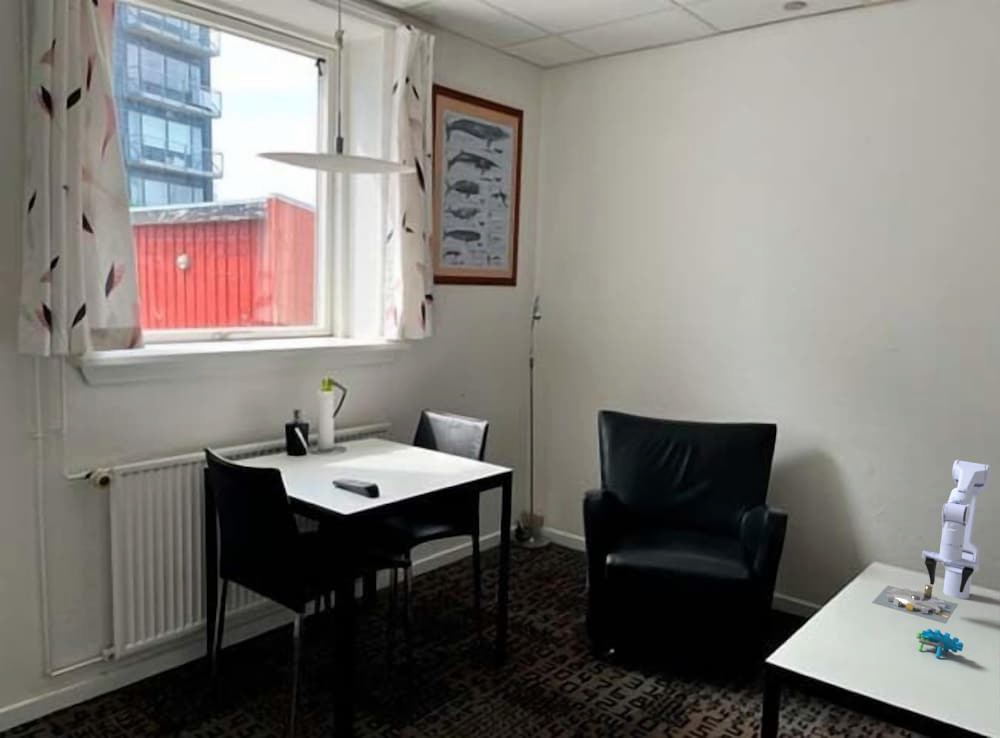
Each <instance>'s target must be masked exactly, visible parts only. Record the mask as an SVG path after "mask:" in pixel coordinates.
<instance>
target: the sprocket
mask: <svg viewBox="0 0 1000 738" xmlns="http://www.w3.org/2000/svg"><path fill="white" fill-rule="evenodd" d="M897 588H898V587H896V588H893V589H892V591H890V590H888V591H887V593H886V596H887V600H888V601H893V604H894V605H896V606H903V607H906V609H907V610H910V611H913V610H918V611H920V612H921V613H926V614H928V612H933V613H935V614H938V613H940V611H943V612H944V611H945V606H946V605H944V604H945V602H944V601H943V600H944V599H941V600H937V599H938V596H936V595H933V585H931V584H925V585H924V591H922V590H917V591H914V590H911V589H910V588H902V589H903V590H899V589H897Z"/></svg>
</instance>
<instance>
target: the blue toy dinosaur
mask: <svg viewBox="0 0 1000 738" xmlns="http://www.w3.org/2000/svg"><path fill="white" fill-rule="evenodd" d="M950 637H951V633H948V632H944V634H943V633H942V632H941V630H940V629H934V631H933V630H932V629H930V628H927V629H926V630H924V629H922V630H921V632H917V633H916V636H915V638H916V639H918V643H920V644H919V648H918V651H919V652H922V651H923V647H924V645H926V646H929V647H934V648H935V649H937V650H936V654H935V658H937V659H940V658H941V656H942V651H944V652H950V651H951V652H953V653H958V651H959V652H963V648H964V643H963V642H961V641H959V640H960V639H959V638H958V637H956V636H954V637H952V638H950Z"/></svg>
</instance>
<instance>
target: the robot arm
mask: <svg viewBox="0 0 1000 738" xmlns="http://www.w3.org/2000/svg"><path fill="white" fill-rule="evenodd" d="M991 470H992V467H991V466H990V464H984V463H977V462H971V461H964V460H960V459H956V460H954V462H953V464H952V471H951V472H952V473H951V474H952V475H951V476H952V479H953V480H952V481H953V482H954V485H956V486H957V487H955V488H953V489H952V490H951V492H950V495H949V497H948V500H947V503H946V502H945V503H943V505H942V509H941V510H942V511H941V527H942V528H941V529H942V530H941V536H940V537H941V538H940V539H941V540H940V547H939V552H934V551H927V550H923V551H922V553H921V559H924V565H925V568H926V569H927V573H928V577H929V582H930V583H929V585H931V586H933V585H934V584H935V580H936V569H937V562H939V563H941V565H942V566H943V567H944V569H945V572H944V582H943V589H942V593H943V595H946V596H948V597H951V598H955V599H959V600H966V599H969V598H970V594H971V592H970V591H971V585H972V577H973V574H975V573H978V572H979V570H980V568H979V567H980V553H981V551H980V548H978V546H977V545H976V544H974V543H973V542H972V536H973V529H974V524H975V523H974V522H975V515H976V510H977V502H978V497H979V495H980V493H981V492H982V491H983V492H984V491H987V489H988V488H989V484H990V479H991Z"/></svg>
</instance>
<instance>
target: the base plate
mask: <svg viewBox="0 0 1000 738" xmlns="http://www.w3.org/2000/svg"><path fill="white" fill-rule="evenodd" d="M893 588H897V589H899V590H903V588H899V587H896V586H891V585H887V586H886V587H885V588H884V589H883V590H882V591H881V592H880V593H879V594H878V595H877V596H876V597H875V598H874V599H873V600H872V601H871V604H875V605H878V606H882V607H885V608H888V609H893V610H896V611H900V612H903V613H907V614H910V615H914V616H916V617H921V618H923V619H924V618H925V619H927V620H931V621H935V622H938V623H941V624H946V623H947V622H948V621H949V619H950V617H951V616H952V614H953V612H954V611H955V610H956V608H957V606H958V605H959V604H958V603H955V602H952V601H948V600H946V599H945V600H944V599H940V598H937V600H943V601H944V602H945V604H944V605H946V606H945V611H944V612H943V611H940V613H938V614H935V613H933V612H928V614H926V613H921V612H920V611H918V610H913V611H910V610H907V609H906V607H903V606H896V605H894V604H893V601H888V600H887V596H886V593H887V591H888V590H890V591H892V589H893Z"/></svg>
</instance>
